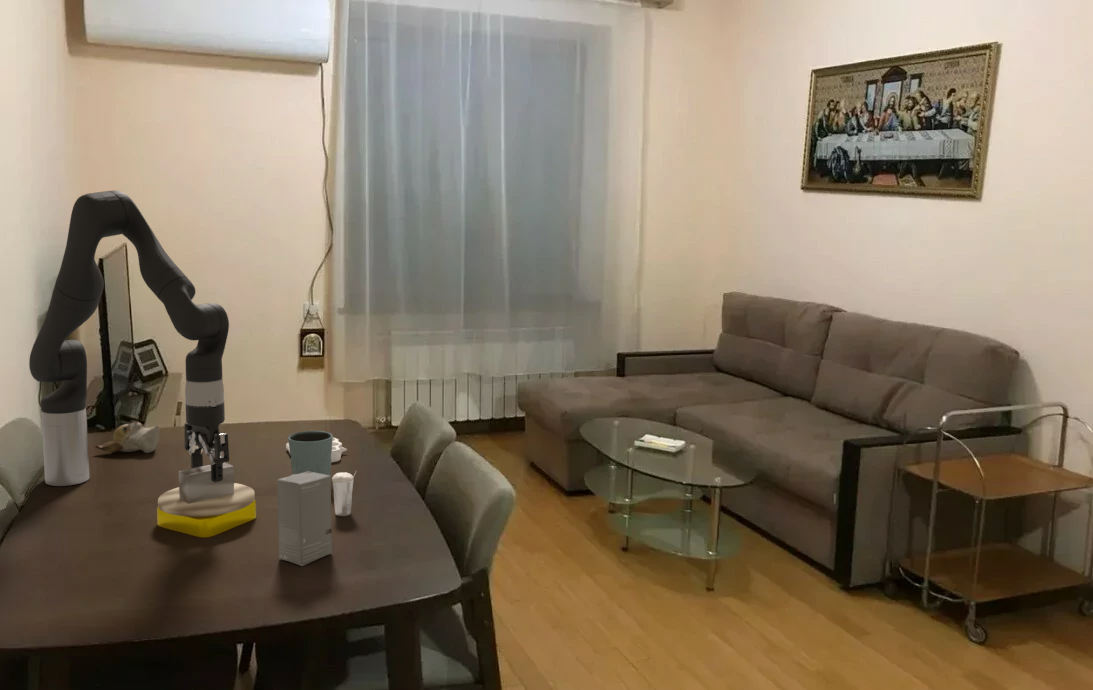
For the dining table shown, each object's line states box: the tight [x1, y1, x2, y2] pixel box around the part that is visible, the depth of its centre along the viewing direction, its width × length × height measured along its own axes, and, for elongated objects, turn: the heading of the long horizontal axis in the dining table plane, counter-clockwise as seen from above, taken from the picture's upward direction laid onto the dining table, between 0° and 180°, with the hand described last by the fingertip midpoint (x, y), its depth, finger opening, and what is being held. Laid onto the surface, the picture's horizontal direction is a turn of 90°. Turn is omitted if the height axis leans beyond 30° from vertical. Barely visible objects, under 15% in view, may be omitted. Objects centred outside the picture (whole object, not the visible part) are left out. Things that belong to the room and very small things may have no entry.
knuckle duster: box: [285, 437, 348, 463], centre depth 240 cm, size 3×18×15 cm
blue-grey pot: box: [287, 430, 334, 477], centre depth 214 cm, size 10×10×12 cm
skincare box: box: [276, 471, 333, 567], centre depth 171 cm, size 8×7×16 cm
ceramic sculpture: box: [94, 419, 160, 454], centre depth 236 cm, size 11×9×15 cm
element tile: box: [156, 498, 257, 538], centre depth 189 cm, size 15×15×5 cm
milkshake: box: [331, 471, 357, 517], centre depth 195 cm, size 4×5×10 cm
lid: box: [157, 462, 256, 516], centre depth 188 cm, size 19×19×7 cm
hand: (207, 476), depth 188 cm, fingers open, 8 cm apart
